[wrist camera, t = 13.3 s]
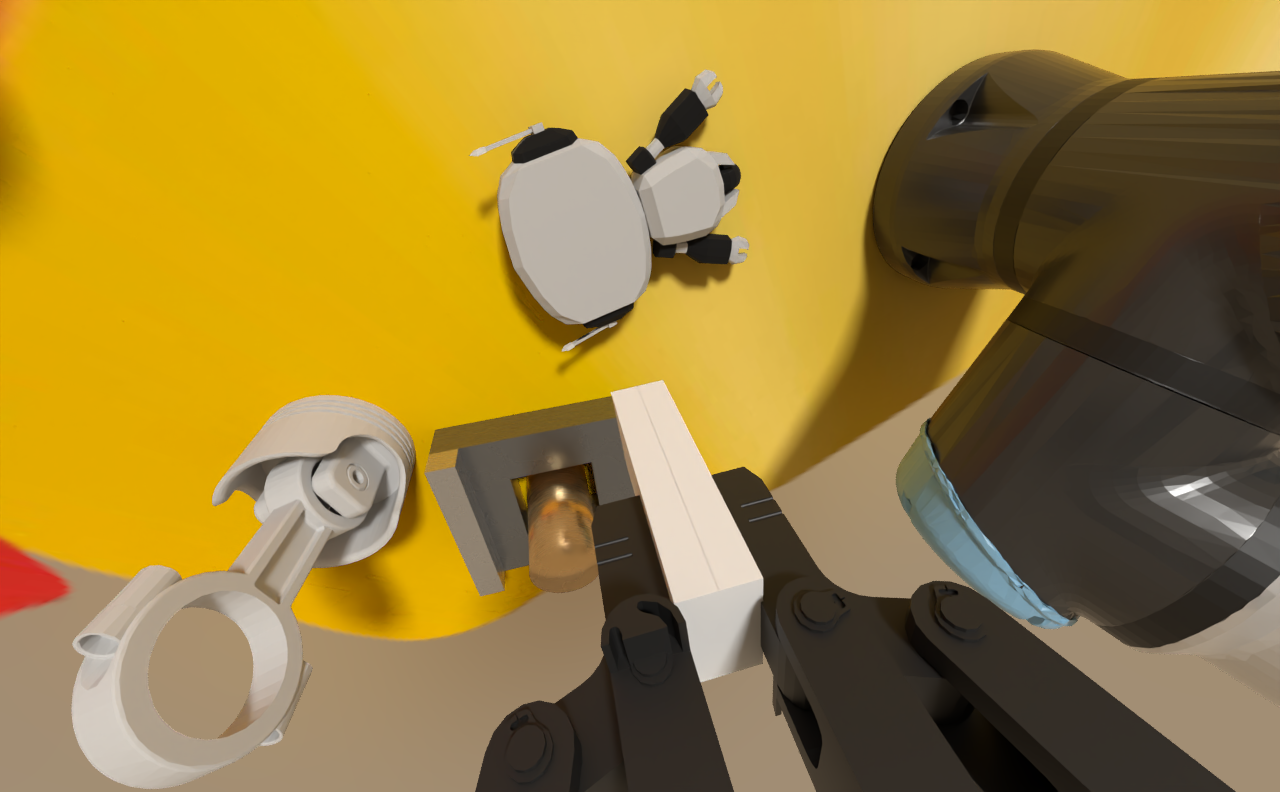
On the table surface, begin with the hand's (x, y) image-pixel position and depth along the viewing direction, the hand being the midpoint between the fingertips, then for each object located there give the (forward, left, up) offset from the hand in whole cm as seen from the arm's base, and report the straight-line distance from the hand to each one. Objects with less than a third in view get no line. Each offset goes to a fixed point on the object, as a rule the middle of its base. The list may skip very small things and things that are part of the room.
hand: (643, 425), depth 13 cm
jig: (+5, +19, -21) cm, 28 cm away
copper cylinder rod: (+4, +19, -21) cm, 28 cm away
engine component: (+20, +12, -21) cm, 31 cm away
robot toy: (-3, -2, -21) cm, 21 cm away
